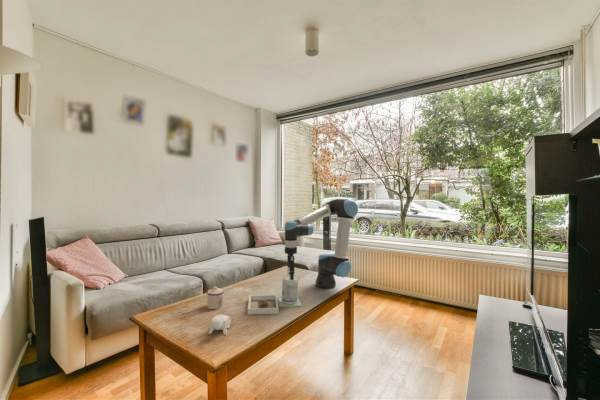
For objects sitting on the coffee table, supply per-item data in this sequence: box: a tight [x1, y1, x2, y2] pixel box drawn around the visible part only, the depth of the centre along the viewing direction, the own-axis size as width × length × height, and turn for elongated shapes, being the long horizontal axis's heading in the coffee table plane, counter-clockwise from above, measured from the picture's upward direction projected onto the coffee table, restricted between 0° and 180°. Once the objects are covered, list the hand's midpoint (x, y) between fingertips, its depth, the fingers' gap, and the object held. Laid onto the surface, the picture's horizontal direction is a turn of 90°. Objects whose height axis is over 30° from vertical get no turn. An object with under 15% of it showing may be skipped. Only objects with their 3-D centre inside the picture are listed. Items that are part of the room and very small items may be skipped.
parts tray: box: [247, 294, 280, 316], centre depth 162 cm, size 17×21×3 cm
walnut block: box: [257, 300, 270, 308], centre depth 156 cm, size 5×5×5 cm
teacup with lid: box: [206, 285, 224, 310], centre depth 161 cm, size 12×9×12 cm
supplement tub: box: [281, 276, 299, 304], centre depth 169 cm, size 10×10×15 cm
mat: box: [277, 296, 302, 308], centre depth 169 cm, size 13×13×1 cm
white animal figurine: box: [208, 314, 232, 336], centre depth 131 cm, size 9×8×15 cm
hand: (290, 280), depth 169 cm, fingers open, 13 cm apart
